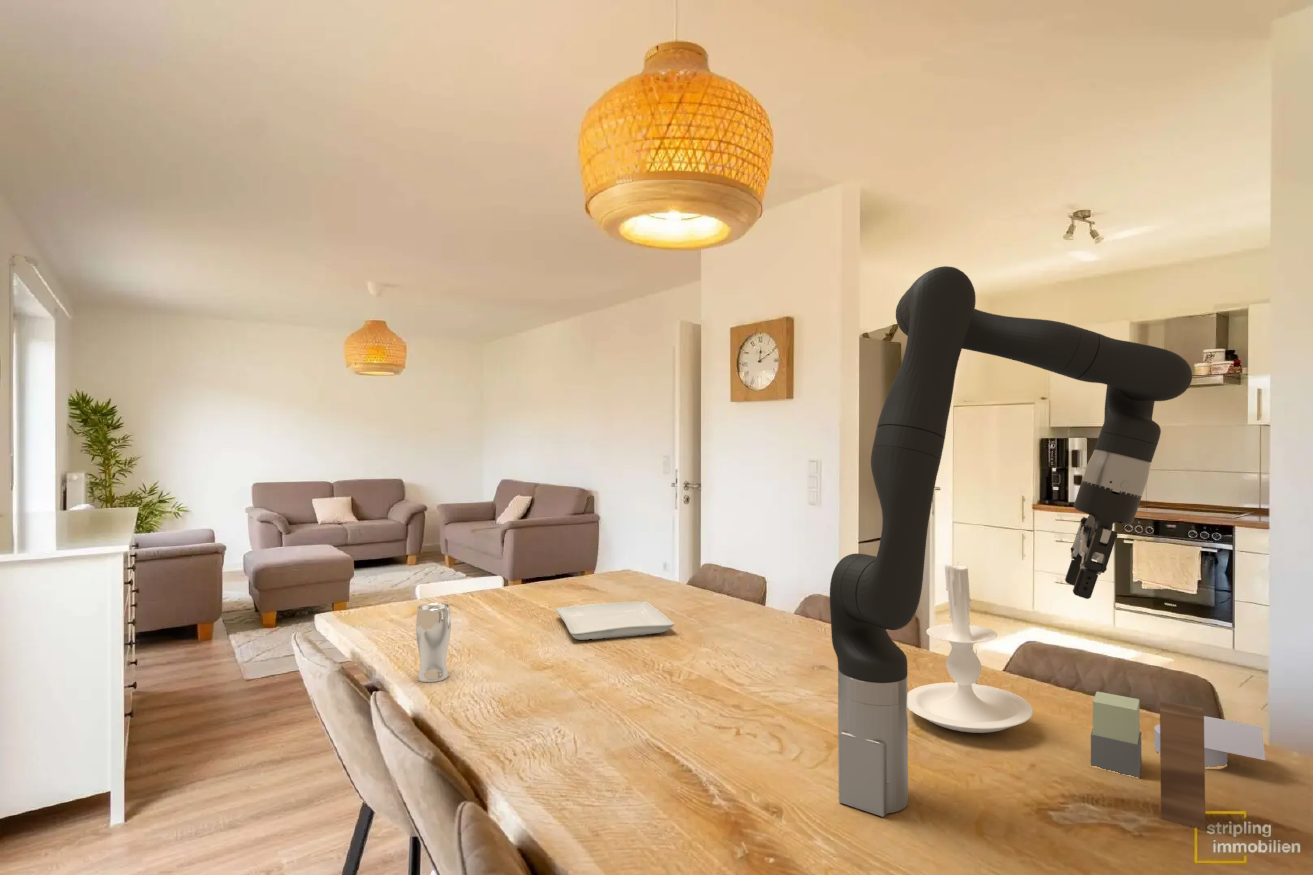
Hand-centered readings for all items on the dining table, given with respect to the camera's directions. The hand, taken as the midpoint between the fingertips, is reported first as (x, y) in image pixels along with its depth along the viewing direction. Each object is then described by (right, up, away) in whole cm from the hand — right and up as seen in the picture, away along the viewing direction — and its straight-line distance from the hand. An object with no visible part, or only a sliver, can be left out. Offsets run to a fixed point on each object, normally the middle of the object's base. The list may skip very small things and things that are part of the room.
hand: (1076, 590), depth 100 cm
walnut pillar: (+7, -27, -11) cm, 30 cm away
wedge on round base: (+23, -28, +5) cm, 37 cm away
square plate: (-74, -29, +83) cm, 115 cm away
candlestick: (-6, -27, +21) cm, 35 cm away
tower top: (+8, -22, +3) cm, 24 cm away
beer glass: (-109, -28, +42) cm, 121 cm away
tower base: (+8, -27, +3) cm, 29 cm away
